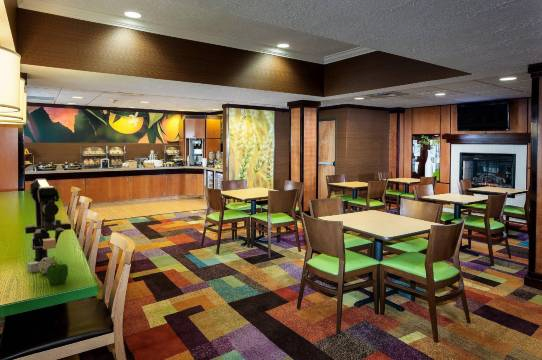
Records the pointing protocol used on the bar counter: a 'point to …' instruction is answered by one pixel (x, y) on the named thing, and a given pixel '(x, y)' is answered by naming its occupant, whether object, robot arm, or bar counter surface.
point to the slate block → (32, 267)
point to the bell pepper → (57, 273)
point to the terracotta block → (49, 243)
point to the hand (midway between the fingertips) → (49, 245)
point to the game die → (45, 264)
